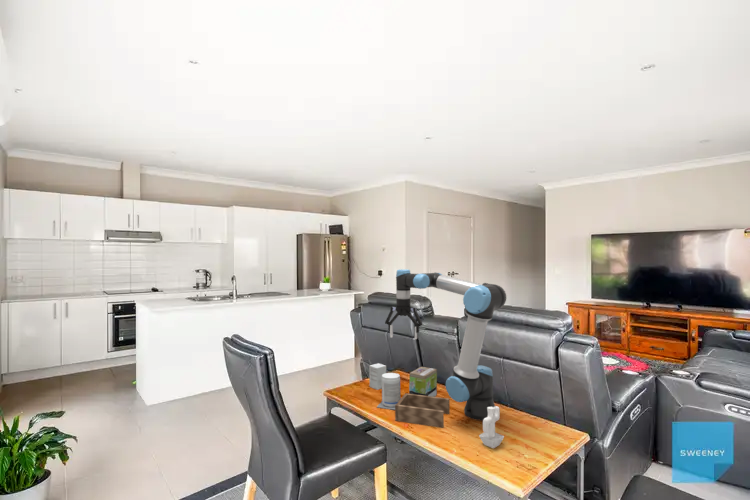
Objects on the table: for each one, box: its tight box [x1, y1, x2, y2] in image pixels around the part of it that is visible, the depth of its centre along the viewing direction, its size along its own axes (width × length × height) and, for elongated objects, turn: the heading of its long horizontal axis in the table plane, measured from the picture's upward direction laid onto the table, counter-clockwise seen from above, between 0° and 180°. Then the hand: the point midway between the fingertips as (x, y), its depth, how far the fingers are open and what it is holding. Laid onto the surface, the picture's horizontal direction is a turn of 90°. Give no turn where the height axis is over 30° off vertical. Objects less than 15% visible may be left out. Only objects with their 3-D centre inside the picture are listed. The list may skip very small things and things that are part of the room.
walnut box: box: [394, 393, 451, 429], centre depth 182 cm, size 22×17×7 cm
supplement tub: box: [381, 372, 402, 407], centre depth 197 cm, size 10×10×15 cm
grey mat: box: [376, 401, 395, 411], centre depth 197 cm, size 12×12×1 cm
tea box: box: [408, 366, 438, 397], centre depth 206 cm, size 15×10×15 cm, turn 148°
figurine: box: [478, 405, 505, 449], centre depth 155 cm, size 7×9×15 cm
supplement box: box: [368, 362, 387, 391], centre depth 224 cm, size 7×7×13 cm
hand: (403, 338), depth 204 cm, fingers open, 13 cm apart
